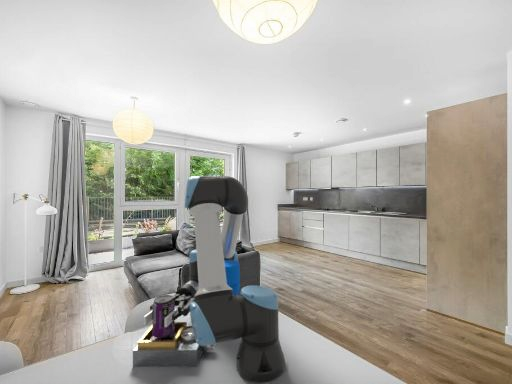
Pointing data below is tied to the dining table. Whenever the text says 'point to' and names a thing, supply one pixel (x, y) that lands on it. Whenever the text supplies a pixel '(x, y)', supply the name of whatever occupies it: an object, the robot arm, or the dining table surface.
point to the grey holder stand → (169, 349)
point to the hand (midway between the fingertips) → (155, 321)
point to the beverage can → (162, 316)
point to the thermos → (233, 275)
